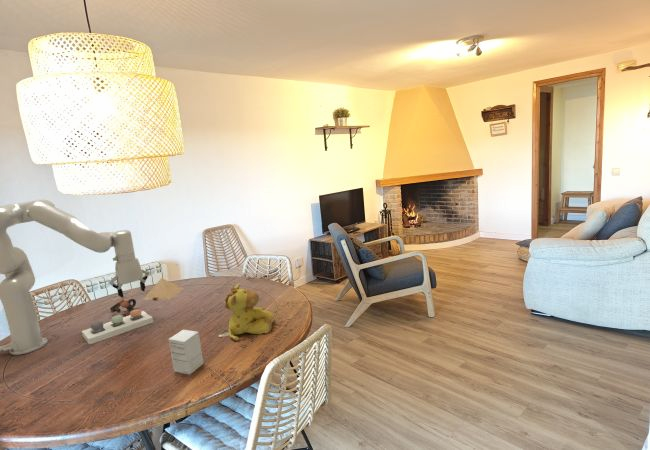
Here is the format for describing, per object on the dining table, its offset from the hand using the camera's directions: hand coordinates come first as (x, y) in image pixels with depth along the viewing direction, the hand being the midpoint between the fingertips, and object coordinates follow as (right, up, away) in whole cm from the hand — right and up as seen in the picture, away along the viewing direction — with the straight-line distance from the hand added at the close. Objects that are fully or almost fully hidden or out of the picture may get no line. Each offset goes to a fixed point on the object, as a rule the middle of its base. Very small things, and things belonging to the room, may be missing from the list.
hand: (132, 293), depth 171 cm
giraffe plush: (+56, -13, -12) cm, 59 cm away
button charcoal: (-10, -15, -9) cm, 20 cm away
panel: (-5, -16, -3) cm, 16 cm away
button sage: (-5, -14, -3) cm, 15 cm away
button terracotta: (+1, -12, +2) cm, 12 cm away
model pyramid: (-2, -8, +39) cm, 40 cm away
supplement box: (+40, -19, -39) cm, 59 cm away
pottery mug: (-12, -13, +15) cm, 23 cm away
